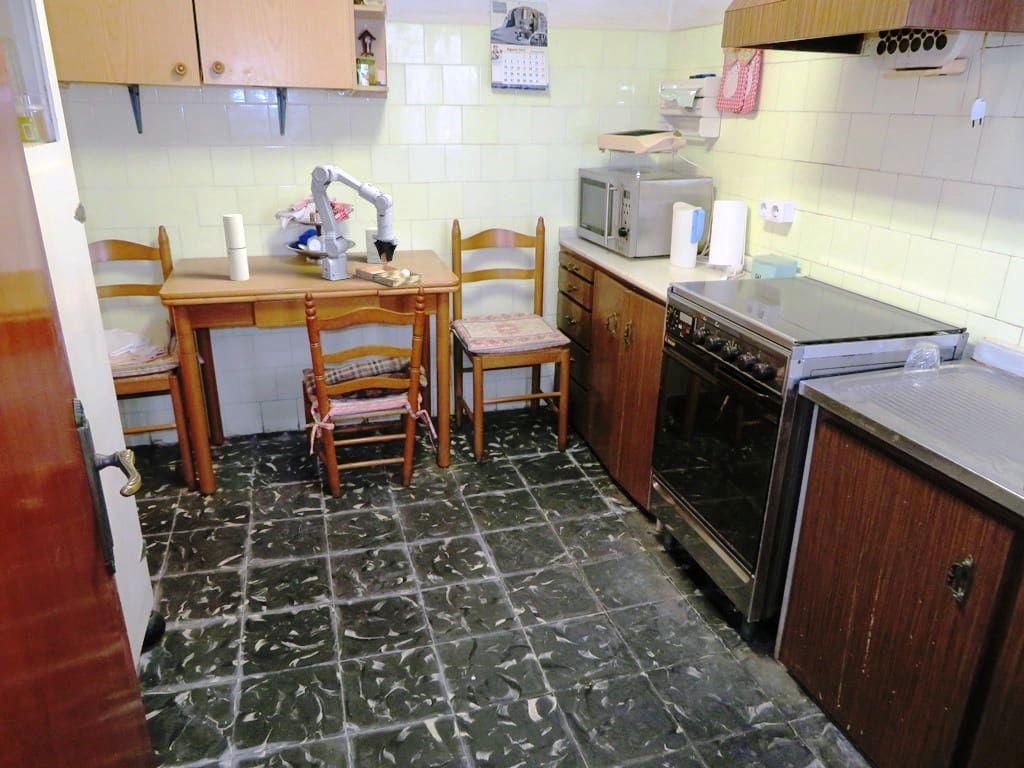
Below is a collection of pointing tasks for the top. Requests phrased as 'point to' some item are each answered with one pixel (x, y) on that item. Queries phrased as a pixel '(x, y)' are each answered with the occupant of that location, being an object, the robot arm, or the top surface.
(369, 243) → the supplement box
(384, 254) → the terracotta ball
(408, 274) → the cream ball
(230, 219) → the cylindrical container
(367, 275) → the peach open box
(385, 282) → the box
